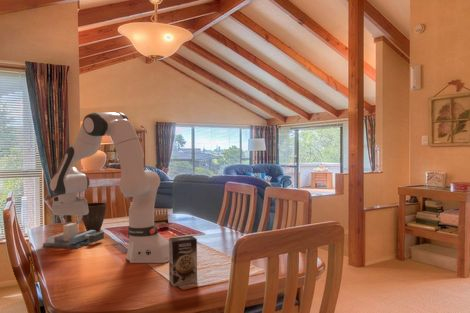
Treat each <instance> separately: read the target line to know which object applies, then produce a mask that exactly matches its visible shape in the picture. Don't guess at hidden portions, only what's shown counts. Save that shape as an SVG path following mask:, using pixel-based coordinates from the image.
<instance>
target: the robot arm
mask: <svg viewBox="0 0 470 313" xmlns="http://www.w3.org/2000/svg"><path fill="white" fill-rule="evenodd" d="M76 136H77V137H76V138H75V141H74V142H73V144H72V145H70V146H69V147H68V148H66V150H65V151H64V153H63V156H62V158H61V159H60V162H59V164H58V165H57V169H56V171H55V173H54V174H53V176H52V177H51V179H50V180H49V190H50V191H51V192H52V193H53V194H56V195H55V196H54V197H52V204H51V205H52V206H51V213H52V214H53V215H54V216H58V218H59V219H60V223H61V224H66V223H67V222H66V219H65V218H64V216H77V218H78V219H77V220H76V221H75V223H77V225H80V224H81V223H82V222H81V221H82V220H83V219H82V217H83V215H87V214H88V213H89V209H88V204H87V203H88V199H87V198H85V197H80V193H81V192H85V191H87V190H88V189H89V186H90V178H89V176H88V175H87V174H85V173H82V172H80V170H78V168H77V167H75V166H73V165H74V164H75V163H76V162H78V161H81V160H84V159H86V158H89V157H92V156H94V155H96V154H97V152H99V149H100V147H101V144H102V140H103V136H104V137H110V138H111V139H112V142H113V145H114V148H115V151H116V153H117V158H118V160H119V164H120V165H119V166H120V179H119V181H118V187H119V190H120V193H121V194H123V196H126V197H131V198H132V202H131V204H130V206H129V208H128V227H127V235H128V247H127V252H126V257H125V259H126V260H127V261H129V263H130V264H164V263H167V262H168V263H169V239H166V238H165V237H164V236H162V234H161V233H159V230H160V228H159V227H156V226H155V224H154V211H155V205H156V204H155V203H156V199H157V193H158V189H159V187H160V184H161V178H160V175H159V174H158V173H157V172H155V171H153V170H149V169H145V168H144V158H145V154H144V149H143V147H142V145H141V142H140V138H139V136H138V133H137V131H136V129H135V128H134V125H133V124H132V122H131V121H130V120H129V118H128V116H127V115H126V114H124V113H123V112H117V111H116V112H112V111H111V112H109V111H102V112H91V113H88V114H87V115H85V116H84V118H83V120H82V123H81V124H80V127H79V130H78V133H77V135H76Z"/></svg>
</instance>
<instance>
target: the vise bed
mask: <svg viewBox="0 0 470 313" xmlns="http://www.w3.org/2000/svg"><path fill="white" fill-rule="evenodd" d="M78 234H79V230H78V229H77V235H78ZM92 243H93V242H89V239H86V240H83V241H81V242H78V243H76V244H69V241H64V237H63V232H61V233H57V234H54V235H51V236H48V237H47V242H43V243H42V247H45V248H46V247H47V248H62V249H77V250H78V249H79V248H82V247H84V246H86V245H89V244H92Z"/></svg>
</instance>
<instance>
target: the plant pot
mask: <svg viewBox="0 0 470 313" xmlns="http://www.w3.org/2000/svg"><path fill="white" fill-rule="evenodd" d="M87 204H88V209H89V213H88V214H87V215H83V217H82V219H81V220H82V222H83V225H84V227H85V230H86V232H87V231H89V230H96V233H97V232H101V230H102V225H103V223H104V221H105V219H104V218H105V216H106V210H107V203H105V202H87Z"/></svg>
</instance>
